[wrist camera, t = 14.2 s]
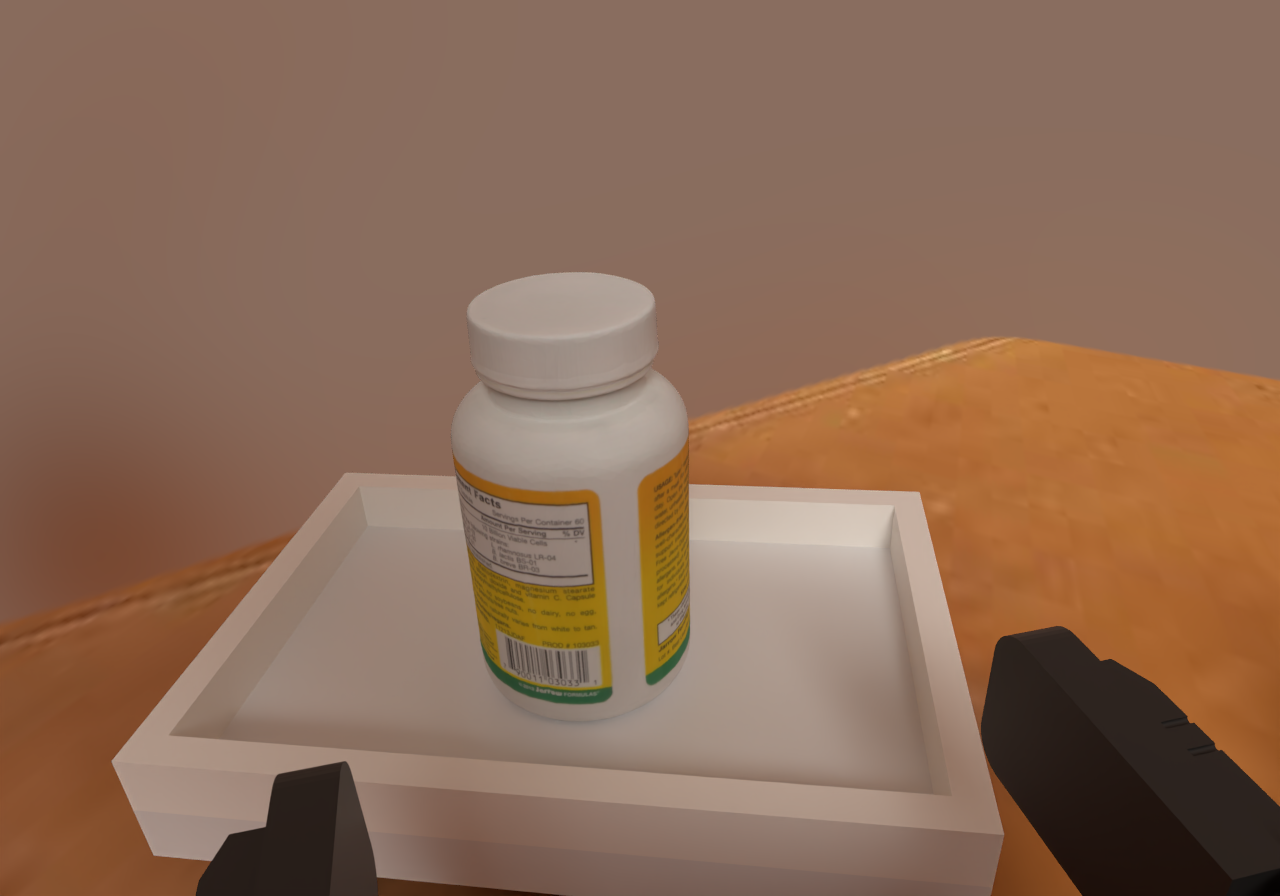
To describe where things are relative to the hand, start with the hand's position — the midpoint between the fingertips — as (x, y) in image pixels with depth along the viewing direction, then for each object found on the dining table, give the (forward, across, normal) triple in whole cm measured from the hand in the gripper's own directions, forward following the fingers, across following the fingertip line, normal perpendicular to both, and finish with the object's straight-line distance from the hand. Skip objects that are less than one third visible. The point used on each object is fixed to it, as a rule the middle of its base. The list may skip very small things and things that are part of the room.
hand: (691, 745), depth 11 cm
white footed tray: (+11, 0, +12) cm, 16 cm away
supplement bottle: (+11, 0, +8) cm, 13 cm away
